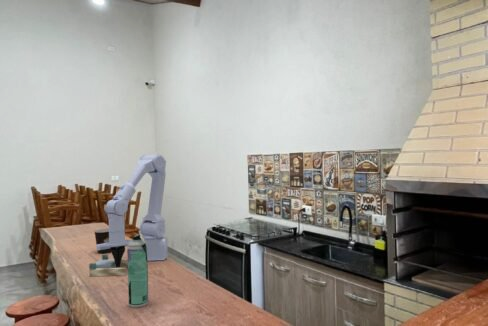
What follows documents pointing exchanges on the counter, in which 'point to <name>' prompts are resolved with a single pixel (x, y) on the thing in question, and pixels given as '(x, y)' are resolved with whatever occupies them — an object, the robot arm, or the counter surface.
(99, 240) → the coffee mug
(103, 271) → the channel
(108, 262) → the block
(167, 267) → the counter surface
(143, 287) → the spray can
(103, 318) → the counter surface
